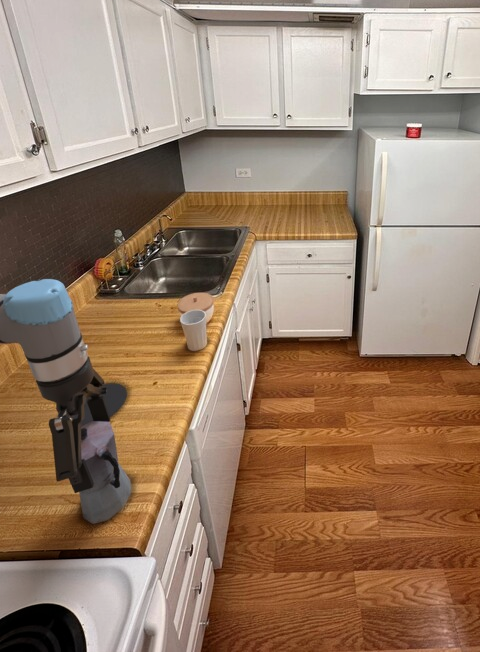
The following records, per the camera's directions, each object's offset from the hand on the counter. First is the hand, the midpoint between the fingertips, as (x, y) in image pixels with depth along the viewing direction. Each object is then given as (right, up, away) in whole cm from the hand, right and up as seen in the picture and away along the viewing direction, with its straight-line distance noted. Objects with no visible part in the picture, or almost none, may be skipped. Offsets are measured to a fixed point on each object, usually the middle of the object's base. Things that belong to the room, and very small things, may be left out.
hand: (94, 452), depth 64 cm
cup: (+2, +3, +49) cm, 49 cm away
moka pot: (0, -14, +6) cm, 15 cm away
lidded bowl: (-2, +8, +61) cm, 61 cm away
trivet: (-17, -5, +27) cm, 32 cm away
